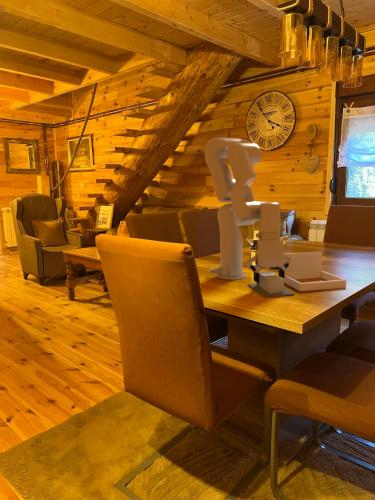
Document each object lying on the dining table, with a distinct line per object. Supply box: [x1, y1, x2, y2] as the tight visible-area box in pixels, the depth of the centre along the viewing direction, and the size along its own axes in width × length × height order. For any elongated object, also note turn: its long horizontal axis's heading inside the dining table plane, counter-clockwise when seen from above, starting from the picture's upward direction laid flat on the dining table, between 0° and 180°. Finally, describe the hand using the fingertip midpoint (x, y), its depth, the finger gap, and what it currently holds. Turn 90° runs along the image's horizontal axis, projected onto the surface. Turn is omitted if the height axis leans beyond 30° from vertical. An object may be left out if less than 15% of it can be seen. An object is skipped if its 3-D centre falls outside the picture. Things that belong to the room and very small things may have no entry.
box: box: [257, 271, 285, 293], centre depth 139 cm, size 6×12×5 cm, turn 11°
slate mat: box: [247, 282, 295, 298], centre depth 139 cm, size 11×17×1 cm, turn 11°
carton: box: [284, 251, 347, 292], centre depth 146 cm, size 19×18×11 cm
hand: (269, 281), depth 140 cm, fingers open, 9 cm apart
